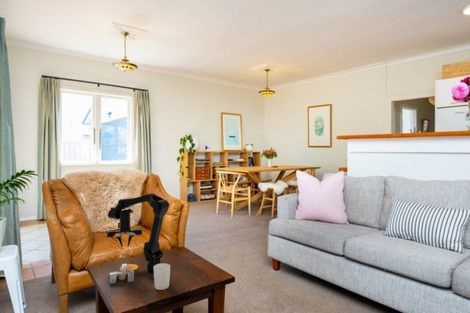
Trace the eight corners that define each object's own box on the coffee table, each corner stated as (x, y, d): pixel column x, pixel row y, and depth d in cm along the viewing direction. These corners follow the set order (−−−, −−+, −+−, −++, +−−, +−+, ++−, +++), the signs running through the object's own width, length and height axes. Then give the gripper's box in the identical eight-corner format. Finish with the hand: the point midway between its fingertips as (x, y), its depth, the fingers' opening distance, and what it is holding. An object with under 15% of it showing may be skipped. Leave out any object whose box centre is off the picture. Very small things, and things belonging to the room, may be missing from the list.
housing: (134, 275, 158) (134, 267, 158) (133, 281, 152) (133, 271, 152) (111, 278, 155) (111, 269, 155) (109, 283, 149) (109, 274, 149)
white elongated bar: (121, 268, 168) (121, 262, 168) (127, 267, 169) (127, 262, 169) (118, 280, 152) (118, 274, 152) (125, 279, 153) (125, 273, 153)
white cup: (155, 283, 150) (155, 263, 150) (171, 282, 151) (171, 263, 150) (152, 290, 142) (152, 270, 142) (169, 290, 143) (169, 269, 142)
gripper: (142, 216, 183) (142, 241, 184) (109, 218, 178) (109, 244, 178) (141, 220, 172) (142, 247, 173) (106, 222, 167) (107, 250, 168)
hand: (125, 247), depth 173 cm, fingers open, 3 cm apart
